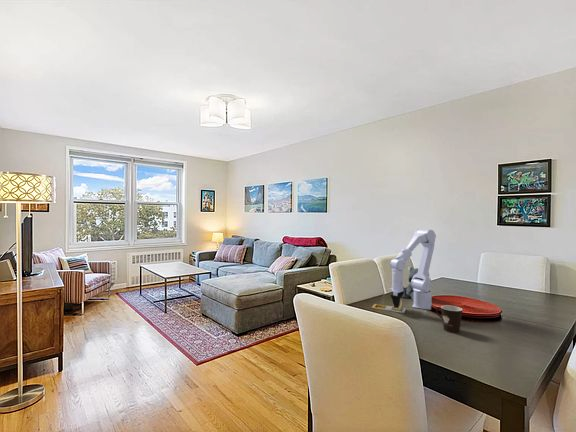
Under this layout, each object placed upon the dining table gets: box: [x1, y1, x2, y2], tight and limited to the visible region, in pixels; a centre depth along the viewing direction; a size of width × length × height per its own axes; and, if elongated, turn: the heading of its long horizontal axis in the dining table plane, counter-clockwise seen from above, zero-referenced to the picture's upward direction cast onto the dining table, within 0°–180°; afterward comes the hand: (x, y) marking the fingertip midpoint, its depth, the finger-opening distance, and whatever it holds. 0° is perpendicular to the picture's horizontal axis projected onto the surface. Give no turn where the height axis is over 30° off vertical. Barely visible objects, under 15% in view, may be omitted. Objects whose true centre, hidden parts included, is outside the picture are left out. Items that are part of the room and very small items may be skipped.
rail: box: [371, 303, 407, 314], centre depth 169 cm, size 17×6×1 cm, turn 61°
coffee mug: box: [435, 304, 463, 334], centre depth 140 cm, size 12×9×10 cm
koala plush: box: [402, 265, 431, 302], centre depth 192 cm, size 17×18×20 cm
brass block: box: [392, 297, 403, 311], centre depth 167 cm, size 4×4×7 cm
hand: (397, 305), depth 167 cm, fingers open, 7 cm apart
